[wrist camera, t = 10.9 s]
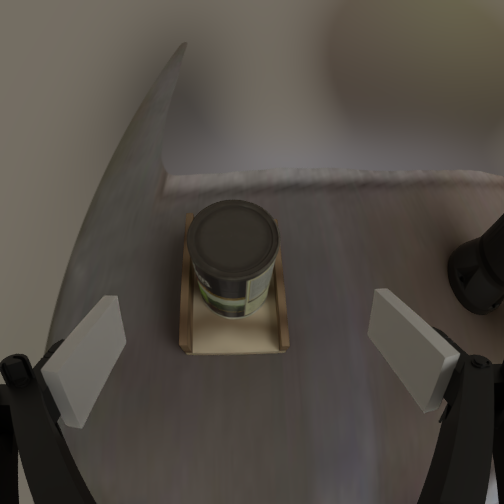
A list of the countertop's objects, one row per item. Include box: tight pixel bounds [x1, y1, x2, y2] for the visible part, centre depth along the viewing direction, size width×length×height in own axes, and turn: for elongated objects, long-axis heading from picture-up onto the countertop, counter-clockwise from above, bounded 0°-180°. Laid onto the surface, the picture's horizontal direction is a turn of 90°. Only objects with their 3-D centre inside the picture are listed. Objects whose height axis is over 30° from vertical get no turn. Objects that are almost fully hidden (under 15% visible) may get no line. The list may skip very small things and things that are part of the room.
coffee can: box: [187, 200, 280, 319], centre depth 40 cm, size 10×10×14 cm
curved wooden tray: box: [179, 213, 290, 355], centre depth 44 cm, size 20×14×6 cm
